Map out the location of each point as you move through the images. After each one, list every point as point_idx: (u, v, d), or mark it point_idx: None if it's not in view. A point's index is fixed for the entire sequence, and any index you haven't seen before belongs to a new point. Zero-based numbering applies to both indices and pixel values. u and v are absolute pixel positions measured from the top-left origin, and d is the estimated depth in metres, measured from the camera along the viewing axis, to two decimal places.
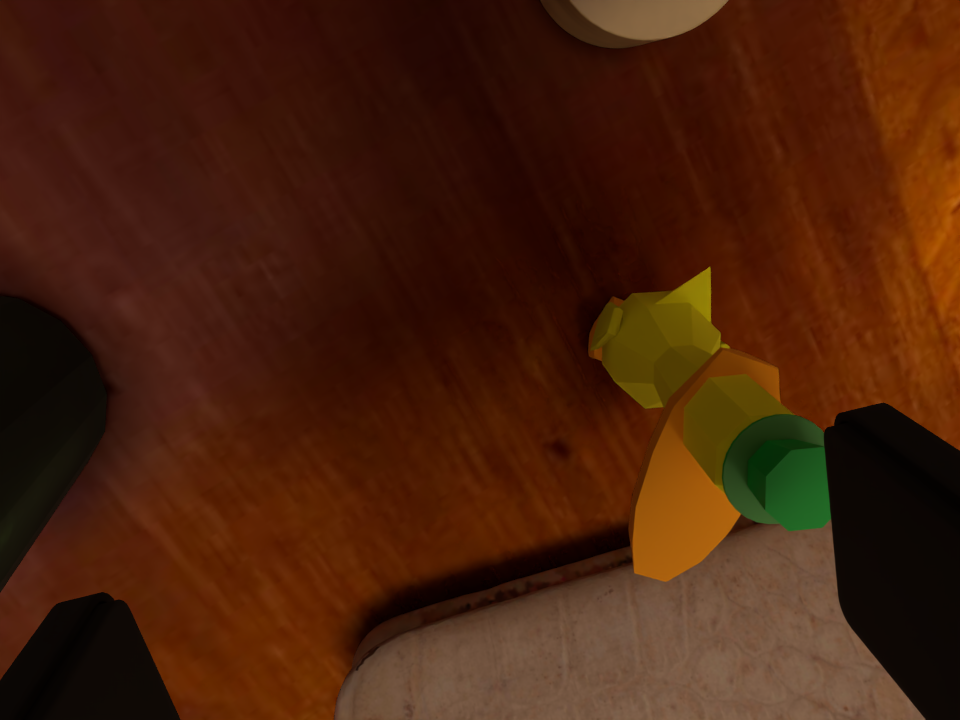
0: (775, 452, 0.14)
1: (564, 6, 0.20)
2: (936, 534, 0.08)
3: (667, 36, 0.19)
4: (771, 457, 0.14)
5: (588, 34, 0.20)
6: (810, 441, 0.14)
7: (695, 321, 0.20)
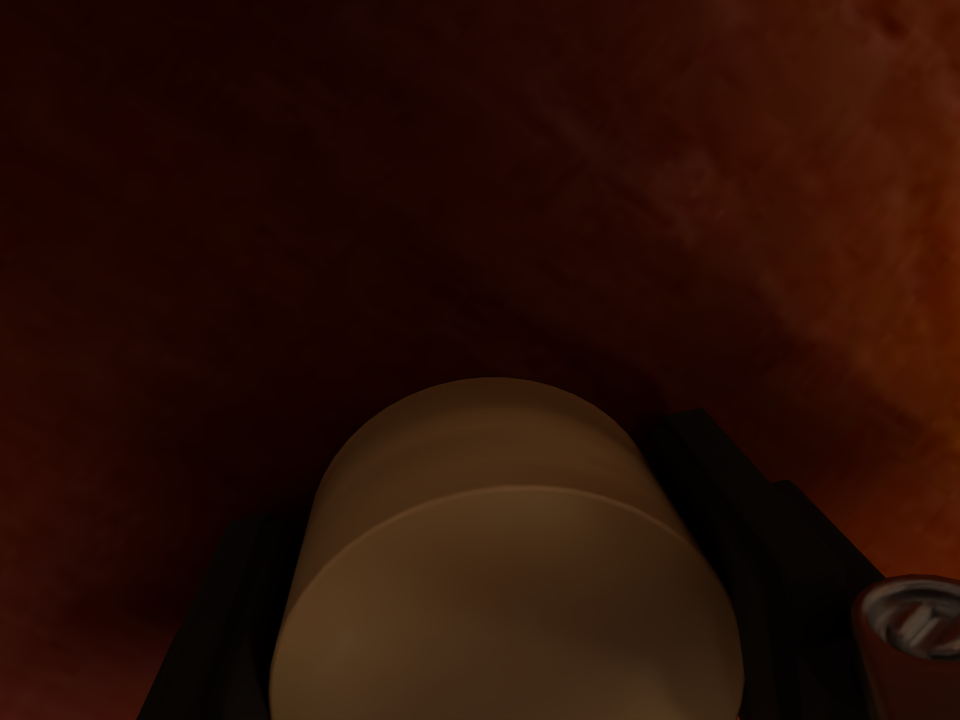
0: None
1: None
2: (707, 524, 0.09)
3: None
4: None
5: None
6: None
7: None
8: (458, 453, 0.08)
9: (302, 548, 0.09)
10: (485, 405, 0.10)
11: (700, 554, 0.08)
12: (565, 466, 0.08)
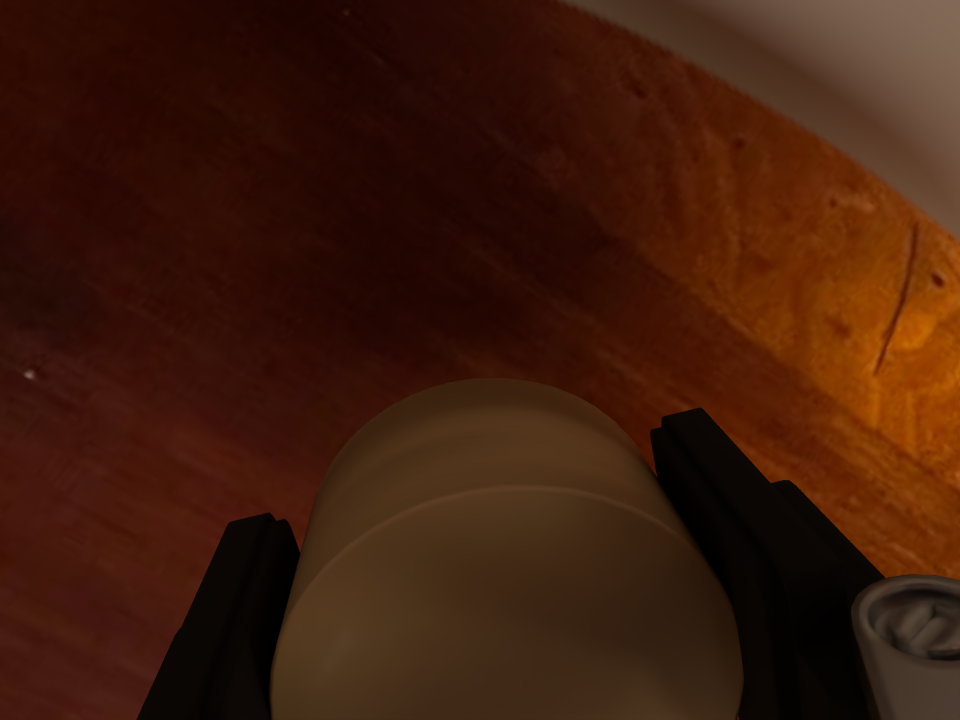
0: None
1: None
2: (707, 524, 0.09)
3: None
4: None
5: None
6: None
7: None
8: (458, 454, 0.08)
9: (303, 548, 0.09)
10: (485, 406, 0.10)
11: (699, 554, 0.08)
12: (565, 466, 0.08)
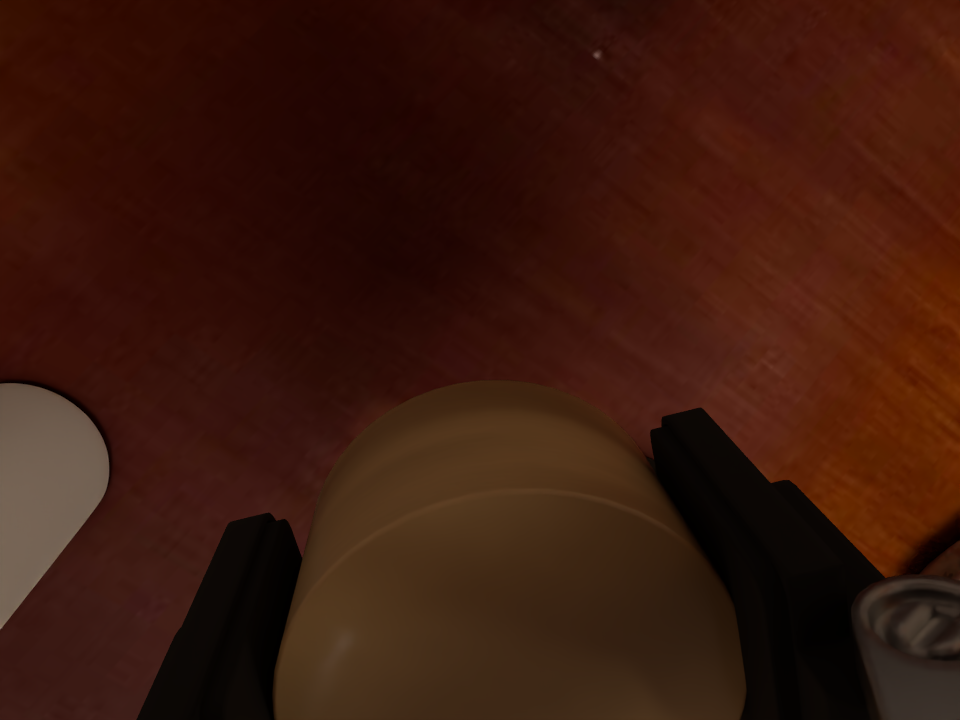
0: None
1: None
2: (707, 524, 0.09)
3: None
4: None
5: None
6: None
7: None
8: (461, 456, 0.08)
9: (306, 551, 0.09)
10: (488, 408, 0.10)
11: (703, 557, 0.08)
12: (569, 469, 0.08)
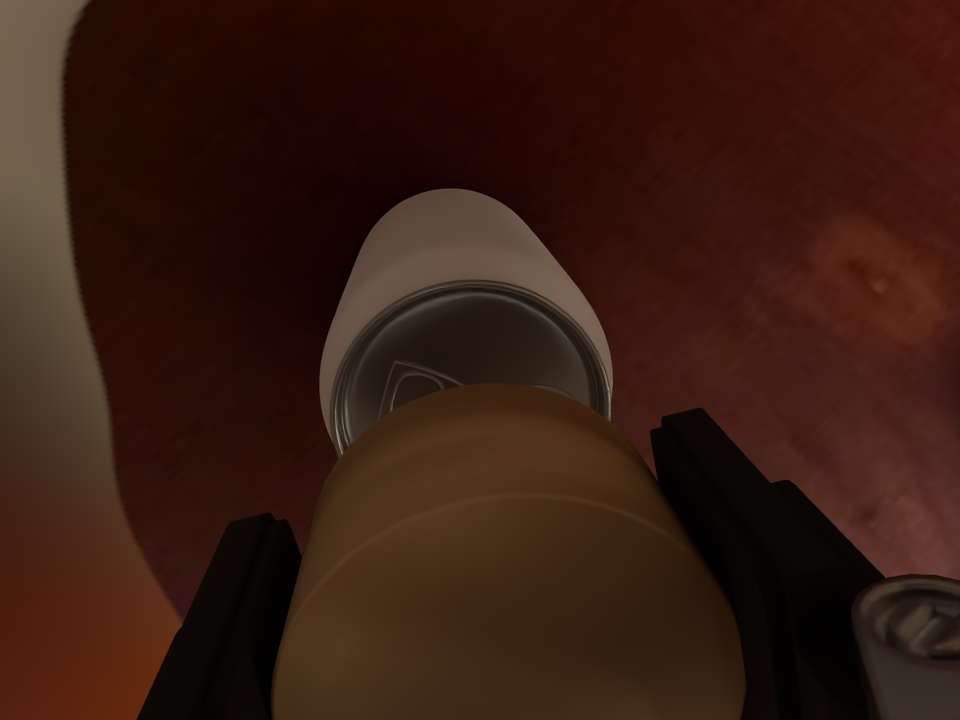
0: None
1: None
2: (707, 524, 0.09)
3: None
4: None
5: None
6: None
7: None
8: (460, 460, 0.08)
9: (304, 554, 0.09)
10: (488, 412, 0.10)
11: (702, 562, 0.08)
12: (567, 474, 0.08)
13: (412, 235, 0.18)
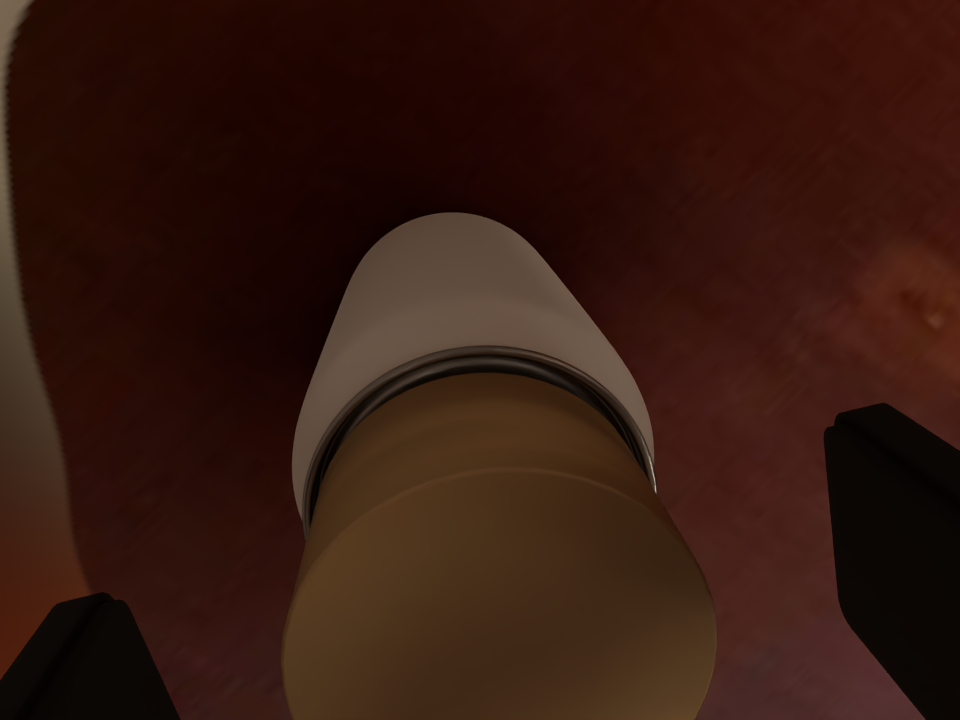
0: None
1: None
2: (936, 534, 0.08)
3: None
4: None
5: None
6: None
7: None
8: (454, 440, 0.09)
9: (310, 529, 0.10)
10: (479, 398, 0.10)
11: (674, 531, 0.09)
12: (552, 451, 0.09)
13: (407, 278, 0.15)
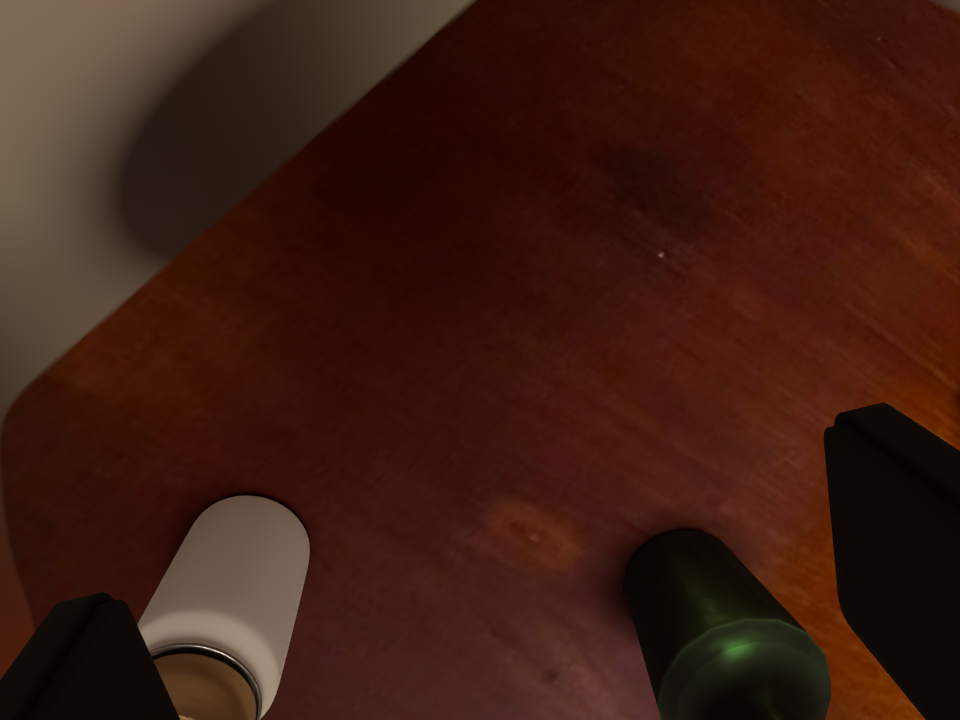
0: None
1: None
2: (936, 534, 0.08)
3: None
4: None
5: None
6: None
7: None
8: None
9: None
10: (168, 672, 0.29)
11: None
12: (176, 703, 0.27)
13: (176, 586, 0.33)
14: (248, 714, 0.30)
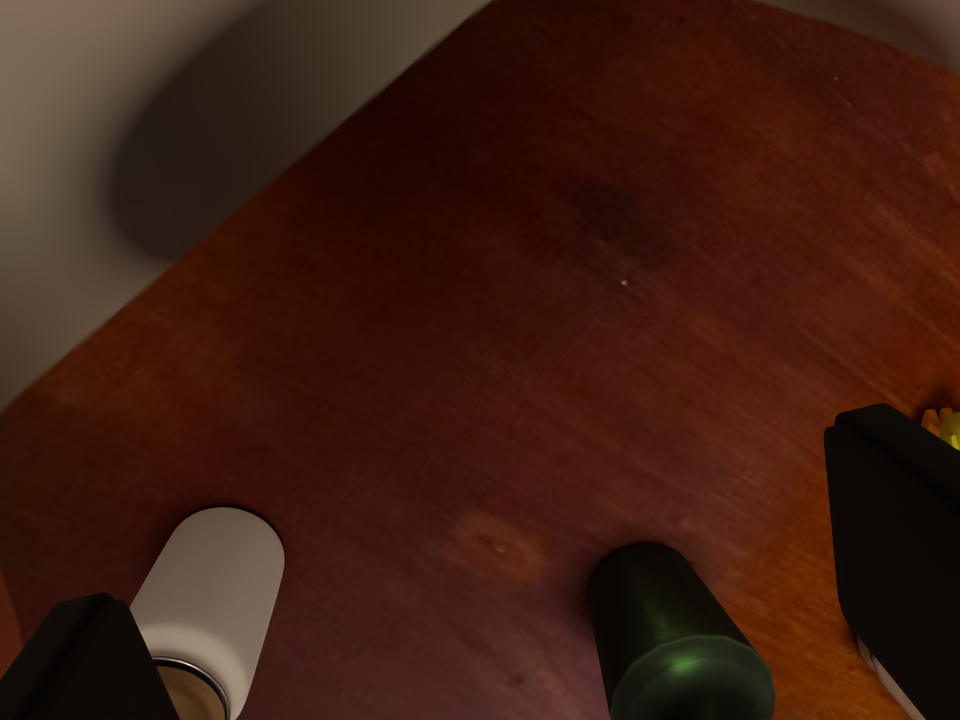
0: None
1: None
2: (936, 534, 0.08)
3: None
4: None
5: None
6: None
7: None
8: None
9: None
10: None
11: None
12: None
13: (151, 599, 0.35)
14: None
